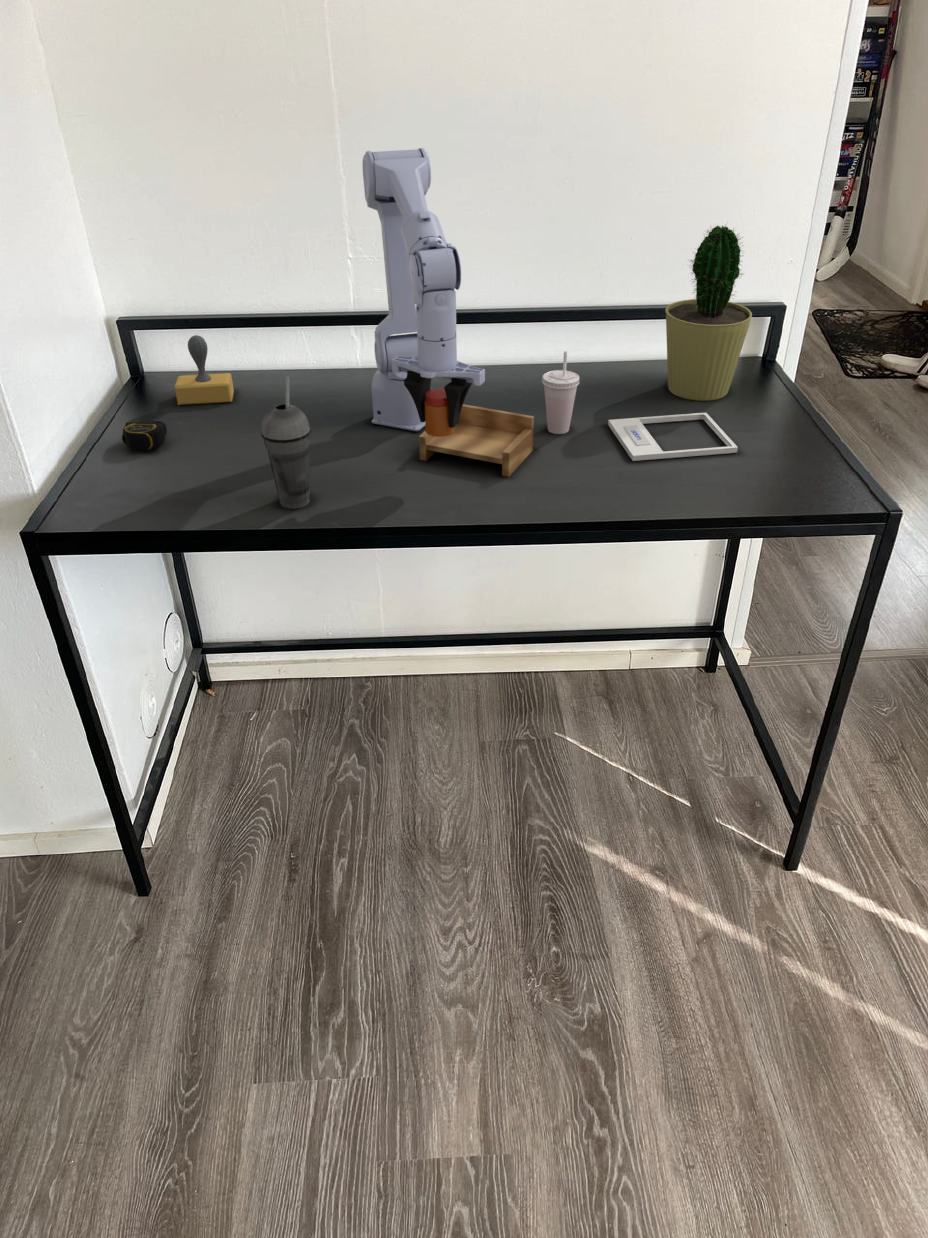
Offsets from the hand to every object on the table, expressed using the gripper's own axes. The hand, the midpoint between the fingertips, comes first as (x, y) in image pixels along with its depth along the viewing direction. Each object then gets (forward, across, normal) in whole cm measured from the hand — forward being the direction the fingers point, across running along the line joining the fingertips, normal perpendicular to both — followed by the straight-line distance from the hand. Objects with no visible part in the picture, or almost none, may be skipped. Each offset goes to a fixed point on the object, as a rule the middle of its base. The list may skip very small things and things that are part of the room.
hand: (439, 422), depth 146 cm
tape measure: (+10, -52, -9) cm, 54 cm away
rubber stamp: (+10, -55, +12) cm, 57 cm away
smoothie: (+10, +11, +25) cm, 29 cm away
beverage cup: (+10, -17, -16) cm, 25 cm away
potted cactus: (+10, +29, +53) cm, 61 cm away
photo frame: (+10, +30, +29) cm, 43 cm away
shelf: (+10, +2, +10) cm, 14 cm away
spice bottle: (+1, 0, 0) cm, 1 cm away
